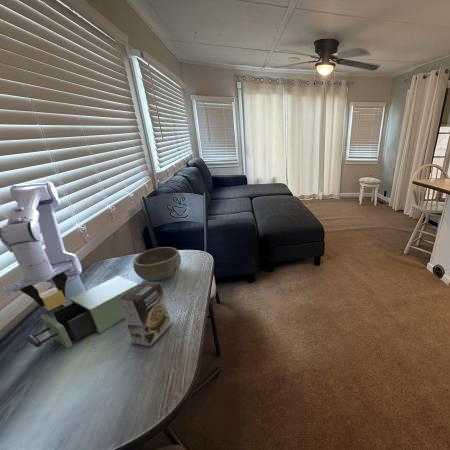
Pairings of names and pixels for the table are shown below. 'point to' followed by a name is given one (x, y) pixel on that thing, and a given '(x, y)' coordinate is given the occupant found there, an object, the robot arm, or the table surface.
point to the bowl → (157, 263)
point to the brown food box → (145, 312)
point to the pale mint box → (105, 301)
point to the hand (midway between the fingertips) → (52, 300)
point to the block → (52, 298)
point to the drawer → (65, 325)
